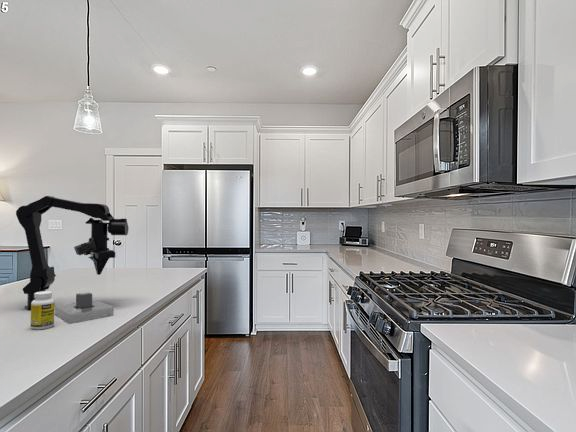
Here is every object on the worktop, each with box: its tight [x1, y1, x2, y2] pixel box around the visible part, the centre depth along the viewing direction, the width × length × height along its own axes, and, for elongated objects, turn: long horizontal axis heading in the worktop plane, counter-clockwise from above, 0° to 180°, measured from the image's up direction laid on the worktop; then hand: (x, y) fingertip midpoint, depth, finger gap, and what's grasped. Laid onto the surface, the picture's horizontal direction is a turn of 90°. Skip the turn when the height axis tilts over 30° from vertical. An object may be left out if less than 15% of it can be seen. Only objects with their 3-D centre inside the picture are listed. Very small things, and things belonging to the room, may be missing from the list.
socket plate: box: [54, 299, 114, 325], centre depth 127 cm, size 16×14×4 cm
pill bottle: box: [30, 290, 56, 331], centre depth 113 cm, size 6×6×11 cm
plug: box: [75, 291, 93, 309], centre depth 127 cm, size 4×4×7 cm
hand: (98, 274), depth 141 cm, fingers closed
